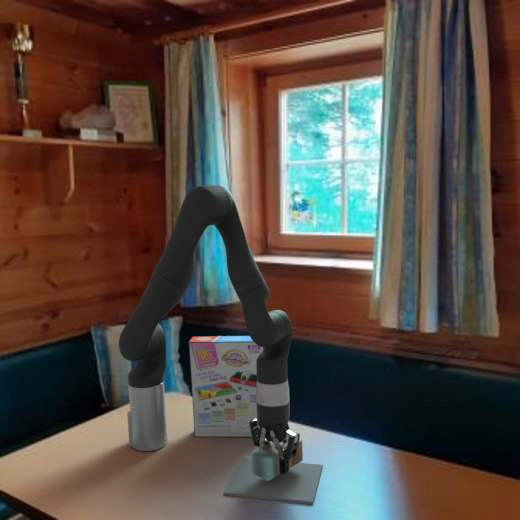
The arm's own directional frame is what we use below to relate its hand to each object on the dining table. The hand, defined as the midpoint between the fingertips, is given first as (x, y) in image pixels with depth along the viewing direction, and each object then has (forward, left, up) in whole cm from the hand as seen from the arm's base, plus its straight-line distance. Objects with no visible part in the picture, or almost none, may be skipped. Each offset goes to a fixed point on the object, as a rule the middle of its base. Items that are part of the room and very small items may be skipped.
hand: (275, 468), depth 128 cm
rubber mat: (0, 0, -3) cm, 3 cm away
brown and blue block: (+3, +6, +3) cm, 7 cm away
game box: (-17, +22, -3) cm, 28 cm away
